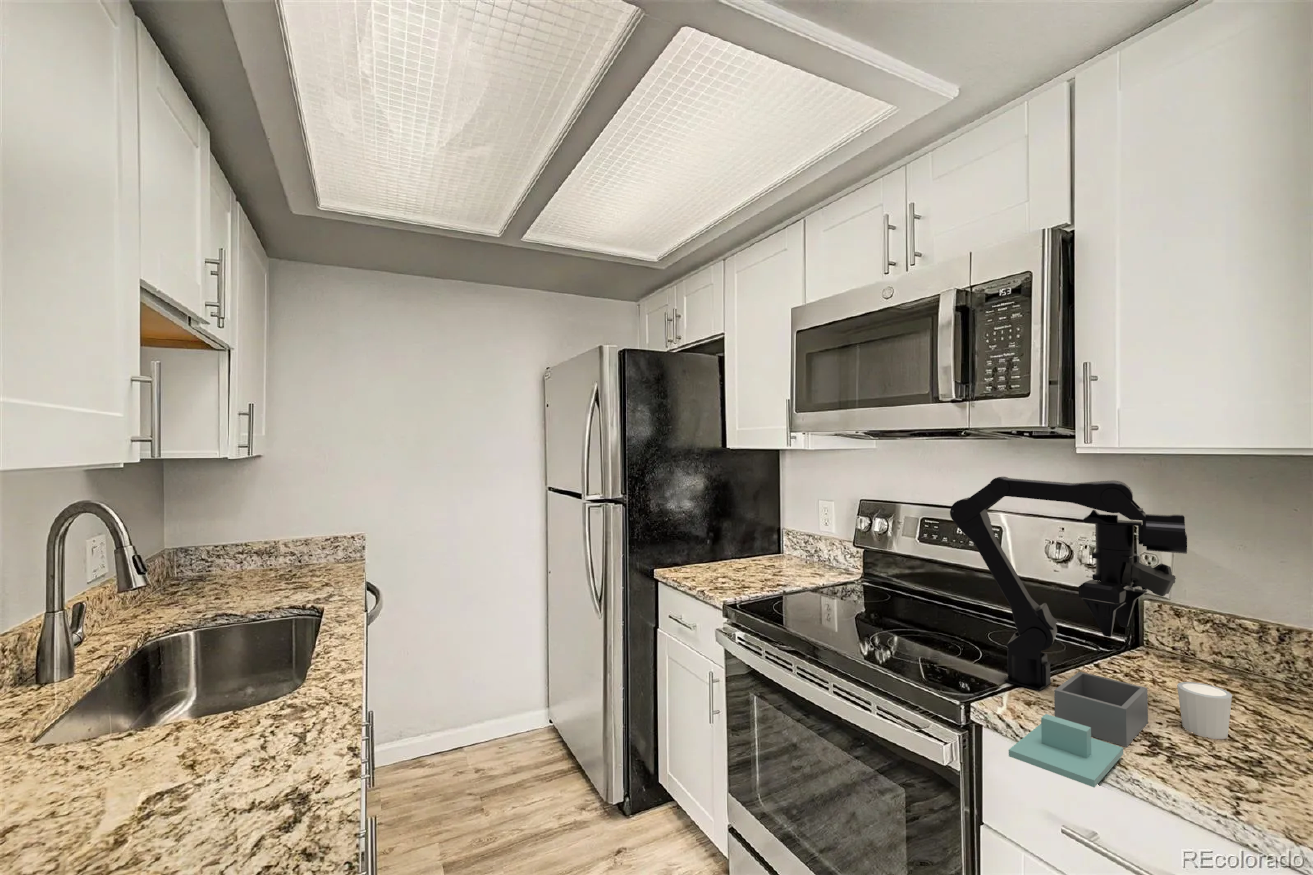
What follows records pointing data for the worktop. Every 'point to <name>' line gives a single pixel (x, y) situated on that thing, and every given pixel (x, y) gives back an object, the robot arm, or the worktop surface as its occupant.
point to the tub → (1103, 706)
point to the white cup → (1204, 709)
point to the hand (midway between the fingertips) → (1115, 631)
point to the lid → (1067, 750)
